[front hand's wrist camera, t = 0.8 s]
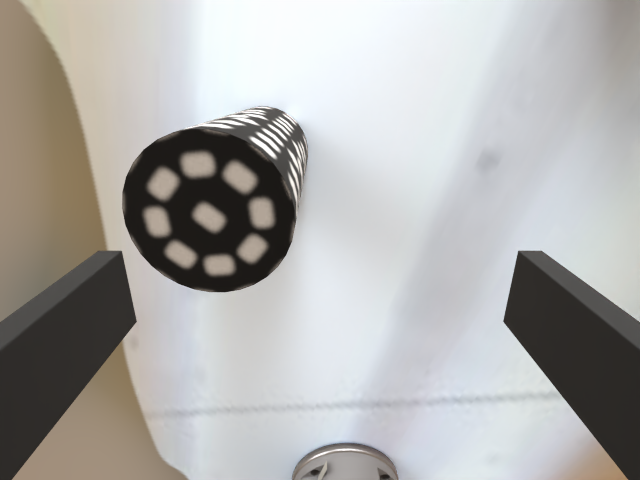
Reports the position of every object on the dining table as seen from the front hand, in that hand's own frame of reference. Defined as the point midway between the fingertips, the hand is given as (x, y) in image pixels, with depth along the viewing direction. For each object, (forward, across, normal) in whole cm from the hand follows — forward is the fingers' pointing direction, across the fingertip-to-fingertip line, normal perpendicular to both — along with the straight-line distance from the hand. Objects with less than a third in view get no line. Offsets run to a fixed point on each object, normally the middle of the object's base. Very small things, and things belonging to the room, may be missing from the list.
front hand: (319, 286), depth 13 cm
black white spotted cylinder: (+16, +5, 0) cm, 17 cm away
